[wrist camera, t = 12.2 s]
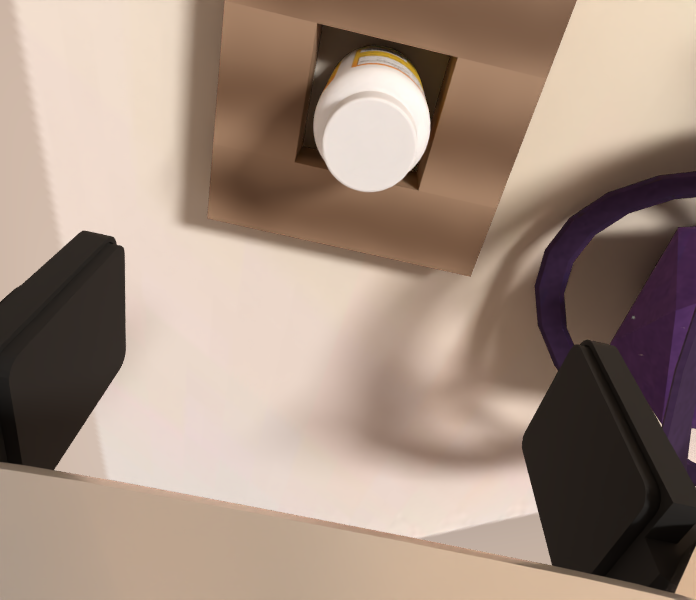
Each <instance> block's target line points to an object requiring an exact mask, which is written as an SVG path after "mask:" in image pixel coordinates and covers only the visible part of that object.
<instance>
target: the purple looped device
mask: <svg viewBox="0 0 696 600" xmlns="http://www.w3.org/2000/svg"><path fill="white" fill-rule="evenodd" d="M693 197H696V171H695V172H686V173H677V174H668V175H659V176H656V177H653V178H650V179H647V180H644V181H641V182H638V183H635V184H632V185H629V186H626V187H623V188H620V189H617V190H614V191H611V192H608V193H606V194H605V195H603V196H602V197H600V198H599V199H597V200H596V201H594V202H593V203H591V204H590V205H588V206H587V207H585V208H584V209H582V210H581V211H579V212H578V213H576V214H575V215H573V216H572V217H570V218H569V219H568V221H567V222H566V223H565V224H564V226H563V227H562V228H561V230H560V231H559V232H558V234H557V235H556V236H555V237H554V239H553V240H552V241H551V243H550V244H549V245H548V247H547V248H546V249H545V252H544V255H543V259H542V262H541V266H540V269H539V273H538V276H537V280H536V283H535V296H536V308H537V320H538V326H539V329H540V331H541V334H542V336H543V339H544V341H545V343H546V346H547V348H548V351H549V353H550V356H551V358H552V360H553V363H554V365H555V367H556V368H557V369H558V371H559V369H560V367H561V365H562V364H563V362H564V360H565V358H566V356H567V354H568V353H569V351H570V349H571V348H572V347H573V346H574V344H573V342H572V339H571V337H570V334H569V332H568V330H567V324H566V312H565V300H564V292H565V289H566V285H567V282H568V279H569V276H570V272H571V269H572V266H573V262H574V261H575V260H576V258H577V257H578V256H579V255H580V253H581V252H582V251H583V250H584V248H585V247H586V246H587V245H588V243H589V242H590V241H591V240H592V238H593V237H594V236H595V235H596V234H597V233H599V232H601V231H602V230H604V229H605V228H607V227H608V226H610V225H612V224H613V223H615V222H616V221H618V220H619V219H621V218H623V217H624V216H626V215H627V214H629V213H632V212H635V211H638V210H641V209H645V208H648V207H651V206H654V205H657V204H661V203H664V202H667V201H670V200H673V199H682V198H693ZM610 345H613V346H615V347H616V348H617V349H618V351H619V353H620V354H621V356H622V358H623V360H624V361H625V363H626V365H627V367H628V369H629V370H630V372H631V374H632V376H633V377H634V379H635V381H636V383H637V384H638V386H639V388H640V390H641V392H642V393H643V395H644V397H645V399H646V400H647V402H648V404H649V405H650V407H651V409H652V410H653V412H654V413H655V415H656V416H657V418H658V419H659V421H660V422H661V424H662V429H663V431H664V432H665V434H666V436H667V438H668V440H669V441H670V443H671V445H672V447H673V448H674V450H675V452H676V454H677V456H678V457H679V459H680V461H681V463H682V464H683V466H684V468H685V470H686V471H687V473H688V475H689V477H690V479H691V480H692V482H693V484H694V486H696V463H694V462H692V461H690V460H689V459H688V451H689V443H690V435H691V428H694V429H696V226H693V227H678V229H677V231H676V232H675V234H674V236H673V238H672V239H671V241H670V243H669V244H668V246H667V248H666V250H665V251H664V253H663V255H662V256H661V258H660V260H659V261H658V263H657V265H656V267H655V268H654V270H653V272H652V273H651V275H650V277H649V278H648V280H647V282H646V284H645V285H644V287H643V289H642V290H641V292H640V294H639V295H638V297H637V299H636V301H635V302H634V304H633V306H632V307H631V309H630V311H629V312H628V314H627V316H626V318H625V319H624V321H623V323H622V324H621V326H620V328H619V330H618V331H617V333H616V335H615V336H614V338H613V340H612V341H611V343H610Z"/></svg>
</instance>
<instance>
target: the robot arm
mask: <svg viewBox="0 0 696 600" xmlns="http://www.w3.org/2000/svg"><path fill="white" fill-rule="evenodd" d="M125 352H126V334H125V253H124V248H123V247H122V246H119V245H117V244H116V240H115V238H114V237H112V236H107V235H103V234H98V233H93V232H89V231H82V232H80V233H79V234H78V235H77V236H75V237H74V238H73V239H72V240H71V241H70V242H69V243H68V244H67V245H65V246H64V247H63V248H62V249H61V250H60V251H59V252H58V253H57V254H55V255H54V256H53V257H52V258H51V259H50V260H49V261H48V262H46V264H44V265H43V266H42V267H41V268H40V269H39V270H38V271H37V272H36V273H34V274H33V275H32V276H31V277H30V278H29V279H28V280H26V281H25V282H24V283H23V284H22V285H20V286H19V287H17V288H16V289H14V290H13V291H12V292H11V293H10V294H9V295H7V296H6V297H5V298H4V299H3V300H2V301H1V302H0V600H696V487H695V486H694V484H693V482H692V480H691V479H690V477H689V475H688V473H687V471H686V470H685V468H684V466H683V464H682V463H681V461H680V459H679V457H678V456H677V454H676V452H675V450H674V448H673V447H672V445H671V443H670V441H669V440H668V438H667V436H666V434H665V432H664V431H663V429H662V427H661V425H660V424H659V422H658V420H657V418H656V416H655V415H654V413H653V411H652V409H651V408H650V406H649V404H648V402H647V400H646V399H645V397H644V395H643V393H642V392H641V390H640V388H639V386H638V384H637V383H636V381H635V379H634V377H633V376H632V374H631V372H630V370H629V369H628V367H627V365H626V363H625V361H624V360H623V358H622V356H621V354H620V353H619V351H618V349H617V348H616V347H615V346H613V345H609V344H604V343H599V342H595V341H590V340H585V341H583V342H582V343H581V344H580V345H574V346H573V347H572V348H571V349H570V351H569V353H568V354H567V356H566V358H565V360H564V362H563V364H562V365H561V367H560V369H559V371H558V373H557V375H556V376H555V378H554V380H553V382H552V384H551V386H550V387H549V389H548V391H547V393H546V395H545V397H544V398H543V400H542V402H541V404H540V406H539V408H538V409H537V411H536V413H535V415H534V417H533V419H532V420H531V422H530V424H529V426H528V428H527V430H526V431H525V434H524V436H523V441H522V450H523V454H524V458H525V462H526V466H527V470H528V473H529V477H530V481H531V485H532V489H533V493H534V497H535V501H536V504H537V508H538V512H539V516H540V520H541V523H542V528H543V531H544V535H545V539H546V543H547V547H548V551H549V555H550V558H551V562H552V565H547V564H542V563H537V562H532V561H527V560H522V559H516V558H512V557H507V556H501V555H496V554H491V553H486V552H481V551H476V550H471V549H466V548H461V547H456V546H451V545H446V544H441V543H436V542H431V541H426V540H421V539H416V538H411V537H406V536H401V535H396V534H391V533H386V532H380V531H375V530H370V529H365V528H360V527H355V526H350V525H345V524H339V523H334V522H329V521H324V520H319V519H314V518H308V517H303V516H298V515H293V514H288V513H282V512H277V511H272V510H267V509H262V508H257V507H251V506H246V505H241V504H235V503H230V502H225V501H219V500H214V499H209V498H203V497H198V496H193V495H188V494H182V493H177V492H172V491H166V490H161V489H156V488H150V487H145V486H140V485H134V484H129V483H124V482H118V481H113V480H107V479H101V478H95V477H90V476H84V475H78V474H72V473H66V472H61V471H55V470H54V469H55V467H56V466H57V464H58V463H59V461H60V460H61V458H62V456H63V455H64V454H65V452H66V450H67V449H68V447H69V446H70V444H71V443H72V441H73V440H74V438H75V437H76V435H77V434H78V432H79V431H80V429H81V427H82V426H83V425H84V423H85V422H86V420H87V418H88V417H89V415H90V414H91V412H92V411H93V409H94V408H95V406H96V405H97V403H98V402H99V400H100V399H101V397H102V396H103V394H104V393H105V391H106V389H107V388H108V386H109V385H110V383H111V382H112V380H113V379H114V377H115V376H116V374H117V373H118V371H119V370H120V368H121V366H122V364H123V361H124V358H125Z"/></svg>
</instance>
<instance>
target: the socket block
mask: <svg viewBox="0 0 696 600" xmlns="http://www.w3.org/2000/svg"><path fill="white" fill-rule="evenodd" d="M576 1H577V0H224V13H223V25H222V38H221V51H220V63H219V76H218V89H217V102H216V114H215V127H214V140H213V152H212V165H211V178H210V190H209V203H208V216H207V218H208V219H213V220H217V221H222V222H226V223H231V224H235V225H240V226H244V227H249V228H253V229H258V230H262V231H267V232H271V233H276V234H280V235H285V236H289V237H294V238H298V239H303V240H307V241H312V242H317V243H321V244H326V245H330V246H335V247H339V248H344V249H348V250H353V251H357V252H362V253H366V254H371V255H375V256H380V257H384V258H389V259H393V260H398V261H402V262H407V263H412V264H416V265H421V266H425V267H430V268H434V269H439V270H443V271H448V272H452V273H457V274H461V275H466V276H470V277H471V274H472V271H473V269H474V266H475V264H476V261H477V258H478V256H479V253H480V251H481V248H482V245H483V243H484V240H485V238H486V235H487V232H488V230H489V227H490V225H491V222H492V219H493V217H494V214H495V212H496V209H497V206H498V204H499V201H500V198H501V196H502V193H503V191H504V188H505V185H506V183H507V180H508V178H509V175H510V172H511V170H512V167H513V165H514V162H515V159H516V157H517V154H518V152H519V149H520V146H521V144H522V141H523V139H524V136H525V133H526V131H527V128H528V126H529V123H530V120H531V118H532V115H533V113H534V110H535V107H536V105H537V102H538V100H539V97H540V94H541V92H542V89H543V87H544V84H545V81H546V79H547V76H548V74H549V71H550V68H551V66H552V63H553V61H554V58H555V55H556V53H557V50H558V48H559V45H560V42H561V40H562V37H563V35H564V32H565V29H566V27H567V24H568V22H569V19H570V16H571V14H572V11H573V9H574V6H575V3H576ZM322 24H323V25H327V26H331V27H335V28H339V29H343V30H347V31H351V32H356V33H360V34H364V35H368V36H372V37H376V38H380V39H384V40H388V41H393V42H397V43H401V44H405V45H409V46H413V47H417V48H421V49H426V50H430V51H434V52H438V53H442V54H446V55H450V58H449V62H448V65H447V69H446V72H445V76H444V79H443V83H442V86H441V90H440V93H439V96H438V100H437V103H436V107H435V110H434V114H433V117H432V121H431V124H430V136H429V140H428V144H427V147H426V149H425V151H424V153H423V155H422V157H421V159H420V162H419V166H418V169H417V172H412V171H409V172H408V173H407V174H406V176H405V177H404V178H403V179H402V180H401V181H399V182H398V183H397V184H395V185H394V186H392V187H390V188H387V189H385V190H382V191H377V192H362V191H357V190H354V189H351V188H349V187H347V186H345V185H343V184H342V183H341V182H339V181H338V180H337V179H336V178H335V177H334V176H333V175H332V174H331V172H330V171H329V169H328V167H327V165H326V163H325V161H324V160H323V158H322V156H321V155H320V153H319V150H317V149H312V148H308V147H304V146H302V144H303V138H304V132H305V126H306V120H307V114H308V108H309V102H310V96H311V90H312V84H313V78H314V72H315V66H316V60H317V54H318V48H319V42H320V36H321V30H322Z"/></svg>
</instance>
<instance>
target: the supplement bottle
mask: <svg viewBox="0 0 696 600" xmlns="http://www.w3.org/2000/svg"><path fill="white" fill-rule="evenodd" d="M313 131H314V137H315V142H316V145H317V148H318V150H319V153H320V155H321V156H322V158H323V160H324V161H325V163H326V165H327V167H328V169H329V171H330V172H331V174H332V175H333V176H334V177H335V178H336V179H337V180H338V181H339V182H341V183H342V184H343V185H345V186H347V187H349V188H351V189H354V190H357V191H362V192H377V191H382V190H385V189H387V188H390V187H392V186H394V185H395V184H397V183H398V182H399V181H401V180H402V179H403V178H404V177H405V176H406V174H407V173H408V172H409V171H410V170H411V169H413V168H414V166H415V165H416V164H417V163H418V161H419V160H420V159H421V157H422V155H423V153H424V151H425V149H426V147H427V144H428V140H429V136H430V115H429V109H428V105H427V102H426V99H425V95H424V91H423V86H422V83H421V80H420V77H419V75H418V72H417V70H416V69H415V67H414V66H413V64H412V63H411V62H410V61H409V60H408V59H407V58H406V57H405V56H404V55H402V54H401V53H399V52H398V51H396V50H394V49H391V48H388V47H384V46H366V47H362V48H359V49H357V50H355V51H353V52H351V53H349V54H348V55H347V56H345V57H344V58H343V59H342V60H341V61H340V62H339V63H338V65H337V66H336V67H335V69H334V70H333V72H332V74H331V76H330V78H329V80H328V83H327V85H326V87H325V89H324V91H323V92H322V94H321V96H320V99H319V101H318V103H317V106H316V110H315V115H314V123H313Z"/></svg>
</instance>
